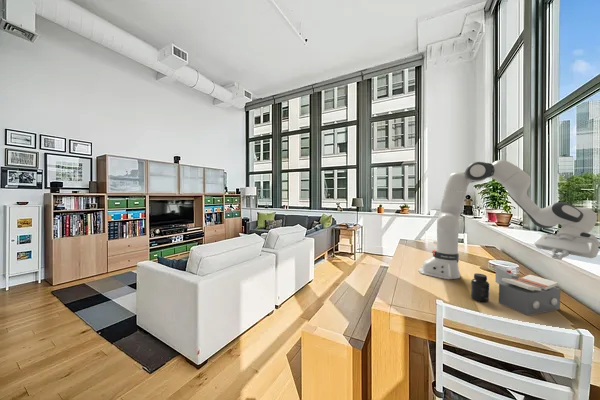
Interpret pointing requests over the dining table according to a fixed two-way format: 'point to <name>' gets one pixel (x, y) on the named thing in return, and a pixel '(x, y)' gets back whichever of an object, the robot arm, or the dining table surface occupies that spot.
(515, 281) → the left rocker
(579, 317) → the dining table surface
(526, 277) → the right rocker
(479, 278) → the supplement bottle
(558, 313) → the dining table surface
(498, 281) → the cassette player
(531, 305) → the switch console
